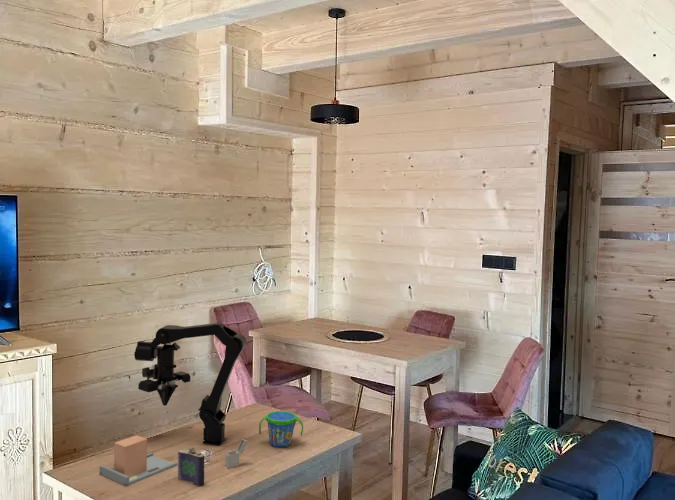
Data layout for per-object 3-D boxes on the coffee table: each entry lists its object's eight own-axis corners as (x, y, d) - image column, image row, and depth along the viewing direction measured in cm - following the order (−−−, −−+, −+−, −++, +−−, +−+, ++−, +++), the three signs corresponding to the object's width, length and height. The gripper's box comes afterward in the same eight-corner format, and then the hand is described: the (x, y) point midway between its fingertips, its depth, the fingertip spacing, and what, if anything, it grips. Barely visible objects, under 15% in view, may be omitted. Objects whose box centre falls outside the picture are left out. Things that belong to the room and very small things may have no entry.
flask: (175, 480, 182) (176, 445, 181) (182, 476, 185) (183, 442, 184) (200, 487, 178) (201, 451, 177) (206, 483, 181) (207, 448, 180)
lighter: (227, 468, 191) (228, 444, 191) (225, 467, 192) (225, 442, 192) (247, 463, 196) (247, 439, 195) (244, 461, 197) (245, 437, 196)
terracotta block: (136, 466, 189) (136, 435, 189) (146, 470, 186) (147, 439, 186) (114, 475, 183) (114, 442, 182) (124, 479, 180) (124, 446, 179)
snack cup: (304, 439, 218) (305, 412, 217) (300, 451, 207) (301, 422, 207) (261, 437, 219) (262, 409, 218) (255, 448, 208) (256, 419, 208)
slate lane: (151, 456, 199) (151, 447, 199) (177, 466, 191) (177, 457, 191) (99, 475, 183) (99, 465, 183) (126, 487, 176) (126, 477, 176)
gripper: (171, 353, 225) (170, 394, 226) (128, 362, 209) (127, 406, 210) (191, 358, 218) (191, 400, 219) (149, 368, 203) (148, 413, 204)
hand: (164, 405), depth 213 cm, fingers closed
